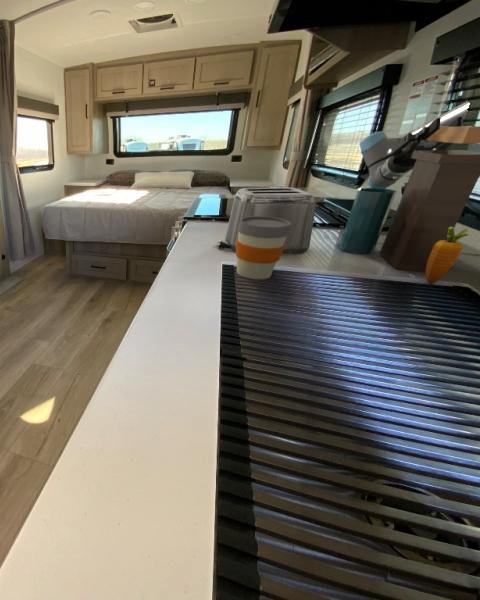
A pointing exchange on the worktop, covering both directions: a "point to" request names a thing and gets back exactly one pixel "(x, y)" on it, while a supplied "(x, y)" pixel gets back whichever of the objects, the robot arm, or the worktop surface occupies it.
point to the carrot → (443, 256)
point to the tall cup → (366, 220)
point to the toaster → (275, 214)
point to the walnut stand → (430, 205)
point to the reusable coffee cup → (260, 245)
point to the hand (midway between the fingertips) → (448, 122)
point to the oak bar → (456, 134)
